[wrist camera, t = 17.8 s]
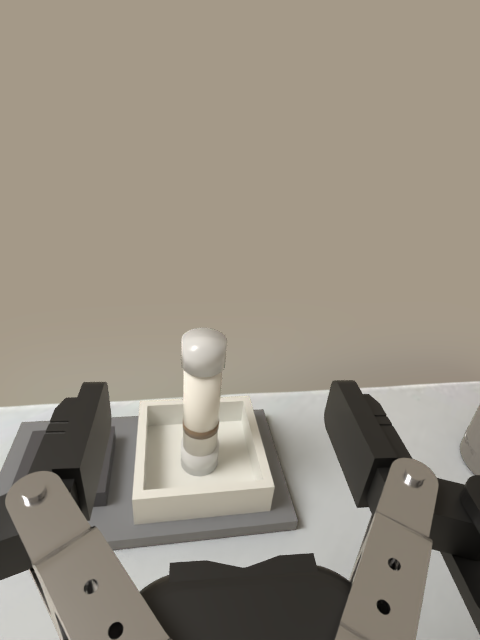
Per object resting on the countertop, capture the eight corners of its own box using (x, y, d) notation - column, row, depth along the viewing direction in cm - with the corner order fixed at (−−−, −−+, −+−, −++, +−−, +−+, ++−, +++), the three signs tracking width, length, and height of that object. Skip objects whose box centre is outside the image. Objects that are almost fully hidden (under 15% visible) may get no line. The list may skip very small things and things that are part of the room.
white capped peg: (223, 453, 40) (233, 333, 33) (209, 481, 37) (217, 356, 30) (190, 442, 40) (192, 324, 34) (174, 469, 37) (173, 345, 30)
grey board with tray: (262, 417, 47) (266, 387, 45) (295, 529, 35) (303, 496, 33) (23, 430, 42) (15, 398, 40) (-32, 566, 30) (-48, 531, 28)
